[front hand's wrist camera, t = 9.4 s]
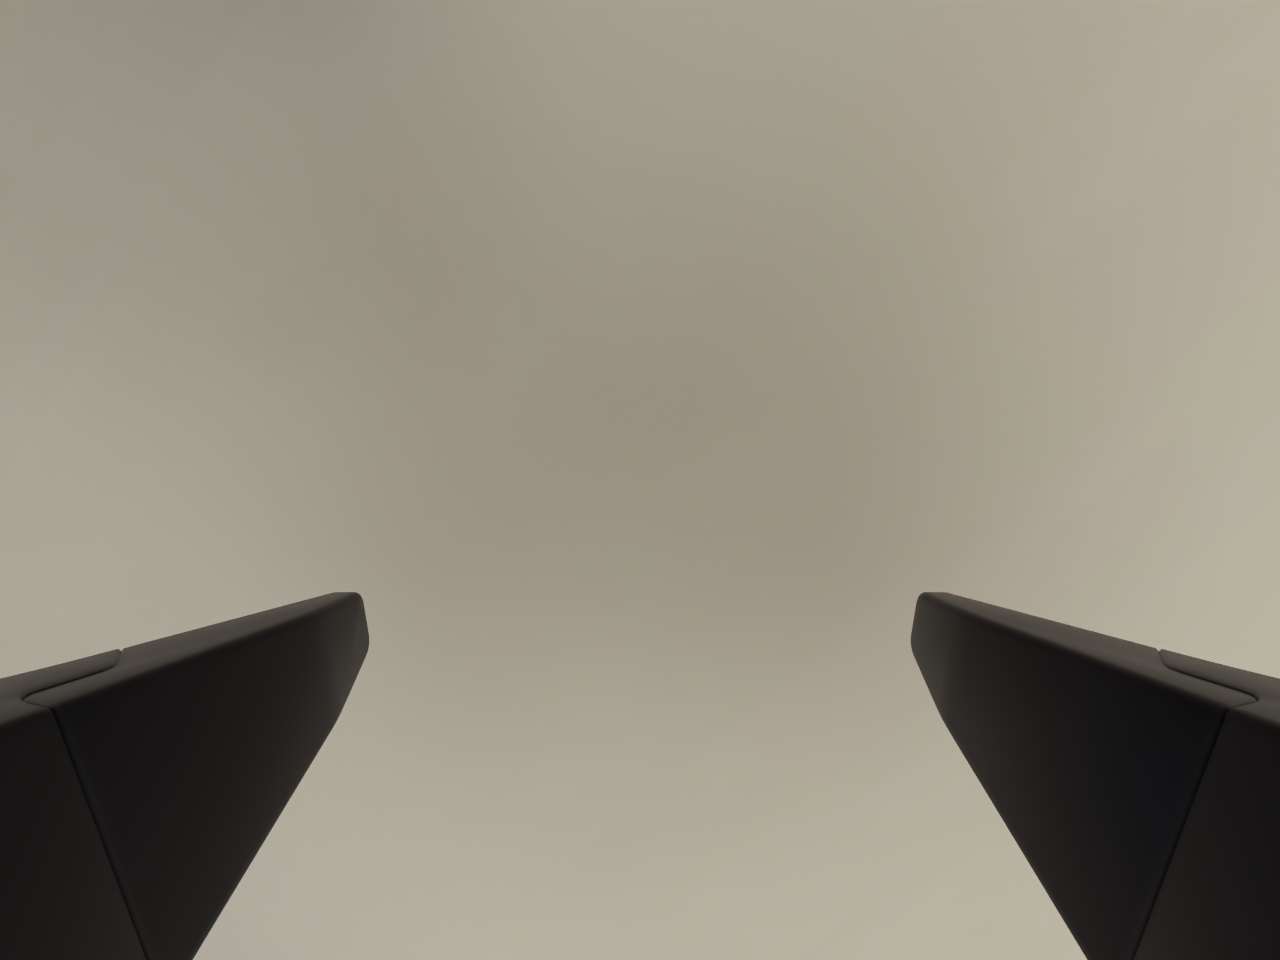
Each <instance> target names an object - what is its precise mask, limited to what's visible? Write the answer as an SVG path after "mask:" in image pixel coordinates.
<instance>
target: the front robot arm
mask: <svg viewBox="0 0 1280 960" xmlns="http://www.w3.org/2000/svg"><path fill="white" fill-rule="evenodd" d="M368 647H369V633H368V627H367V621H366V615H365V609H364V603H363V600H362V597H361V596H360V594H358V593H356V592H336V593H330V594H327V595H323V596H319V597H315V598H312V599H308V600H304V601H300V602H297V603H293V604H289V605H285V606H281V607H278V608H274V609H270V610H266V611H263V612H259V613H255V614H251V615H248V616H244V617H240V618H236V619H233V620H229V621H225V622H221V623H218V624H214V625H210V626H206V627H203V628H199V629H195V630H191V631H188V632H184V633H180V634H176V635H172V636H169V637H165V638H161V639H157V640H154V641H150V642H146V643H142V644H139V645H135V646H131V647H127V648H124V649H123V650H122V652H121V651H120V650H119V649H116V650H113V651H109V652H105V653H101V654H97V655H94V656H90V657H86V658H82V659H78V660H74V661H70V662H66V663H62V664H59V665H55V666H51V667H47V668H43V669H39V670H34V671H30V672H26V673H22V674H18V675H14V676H10V677H6V678H2V679H0V960H193V958H194V956H195V955H196V953H197V951H198V950H199V948H200V946H201V945H202V943H203V942H204V940H205V938H206V937H207V935H208V933H209V932H210V930H211V928H212V927H213V925H214V923H215V922H216V920H217V918H218V917H219V915H220V913H221V912H222V910H223V908H224V907H225V905H226V903H227V902H228V900H229V899H230V897H231V895H232V894H233V892H234V890H235V889H236V887H237V885H238V884H239V882H240V880H241V879H242V877H243V875H244V874H245V872H246V870H247V869H248V867H249V865H250V864H251V862H252V860H253V859H254V857H255V856H256V854H257V852H258V851H259V849H260V847H261V846H262V844H263V842H264V841H265V839H266V837H267V836H268V834H269V832H270V831H271V829H272V827H273V826H274V824H275V822H276V821H277V819H278V817H279V816H280V814H281V813H282V811H283V809H284V808H285V806H286V804H287V803H288V801H289V799H290V798H291V796H292V794H293V793H294V791H295V789H296V788H297V786H298V784H299V783H300V781H301V779H302V778H303V776H304V774H305V773H306V771H307V770H308V768H309V766H310V765H311V763H312V761H313V760H314V758H315V756H316V755H317V753H318V751H319V750H320V748H321V746H322V745H323V743H324V741H325V740H326V738H327V736H328V735H329V733H330V731H331V730H332V728H333V726H334V724H335V723H336V721H337V719H338V717H339V715H340V713H341V711H342V709H343V707H344V705H345V702H346V700H347V698H348V695H349V693H350V691H351V689H352V686H353V684H354V682H355V680H356V677H357V675H358V673H359V670H360V668H361V666H362V664H363V661H364V659H365V657H366V654H367V652H368ZM911 647H912V652H913V654H914V657H915V659H916V661H917V664H918V666H919V668H920V670H921V673H922V675H923V677H924V680H925V682H926V684H927V686H928V689H929V691H930V693H931V695H932V698H933V700H934V702H935V705H936V707H937V709H938V711H939V713H940V715H941V717H942V719H943V721H944V723H945V724H946V726H947V728H948V730H949V731H950V733H951V735H952V736H953V738H954V740H955V741H956V743H957V745H958V746H959V748H960V750H961V751H962V753H963V755H964V756H965V758H966V760H967V761H968V763H969V765H970V766H971V768H972V770H973V771H974V773H975V774H976V776H977V778H978V779H979V781H980V783H981V784H982V786H983V788H984V789H985V791H986V793H987V794H988V796H989V798H990V799H991V801H992V803H993V804H994V806H995V808H996V809H997V811H998V813H999V814H1000V816H1001V817H1002V819H1003V821H1004V822H1005V824H1006V826H1007V827H1008V829H1009V831H1010V832H1011V834H1012V836H1013V837H1014V839H1015V841H1016V842H1017V844H1018V846H1019V847H1020V849H1021V851H1022V852H1023V854H1024V856H1025V857H1026V859H1027V860H1028V862H1029V864H1030V865H1031V867H1032V869H1033V870H1034V872H1035V874H1036V875H1037V877H1038V879H1039V880H1040V882H1041V884H1042V885H1043V887H1044V889H1045V890H1046V892H1047V894H1048V895H1049V897H1050V899H1051V900H1052V902H1053V903H1054V905H1055V907H1056V908H1057V910H1058V912H1059V913H1060V915H1061V917H1062V918H1063V920H1064V922H1065V923H1066V925H1067V927H1068V928H1069V930H1070V932H1071V933H1072V935H1073V937H1074V938H1075V940H1076V942H1077V943H1078V945H1079V946H1080V948H1081V950H1082V951H1083V953H1084V955H1085V956H1086V958H1087V960H1280V679H1278V678H1274V677H1270V676H1266V675H1262V674H1258V673H1254V672H1250V671H1246V670H1241V669H1237V668H1233V667H1229V666H1225V665H1222V664H1218V663H1214V662H1210V661H1206V660H1202V659H1198V658H1194V657H1190V656H1186V655H1183V654H1179V653H1175V652H1171V651H1167V650H1164V649H1161V650H1160V651H1159V652H1158V650H1157V649H1156V648H1153V647H1149V646H1145V645H1141V644H1138V643H1134V642H1130V641H1126V640H1123V639H1119V638H1115V637H1111V636H1108V635H1104V634H1100V633H1096V632H1093V631H1089V630H1085V629H1081V628H1077V627H1074V626H1070V625H1066V624H1062V623H1059V622H1055V621H1051V620H1047V619H1044V618H1040V617H1036V616H1032V615H1029V614H1025V613H1021V612H1017V611H1014V610H1010V609H1006V608H1002V607H999V606H995V605H991V604H987V603H983V602H980V601H976V600H972V599H968V598H965V597H961V596H957V595H953V594H950V593H944V592H924V593H922V594H920V596H919V597H918V600H917V603H916V609H915V615H914V621H913V627H912V633H911Z"/></svg>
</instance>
